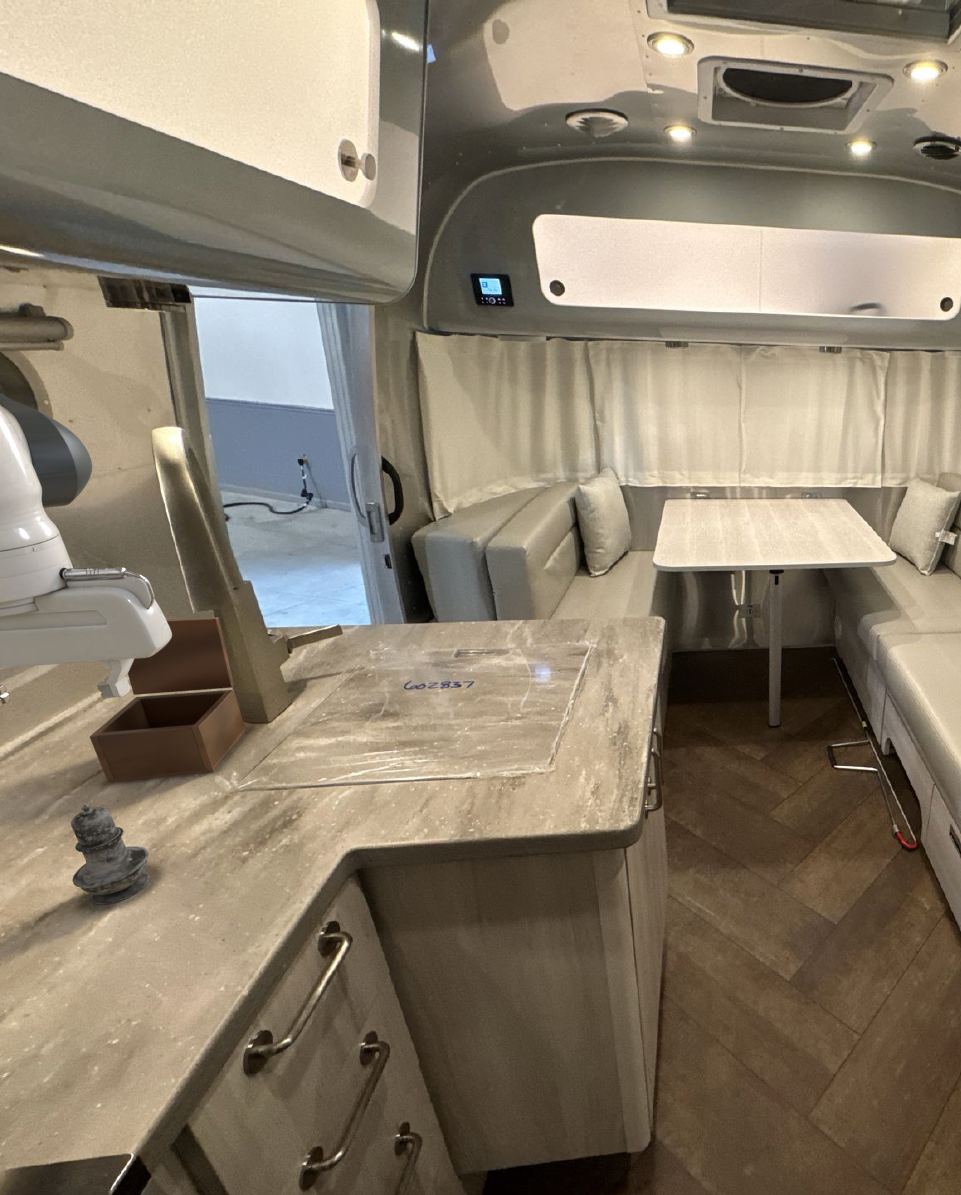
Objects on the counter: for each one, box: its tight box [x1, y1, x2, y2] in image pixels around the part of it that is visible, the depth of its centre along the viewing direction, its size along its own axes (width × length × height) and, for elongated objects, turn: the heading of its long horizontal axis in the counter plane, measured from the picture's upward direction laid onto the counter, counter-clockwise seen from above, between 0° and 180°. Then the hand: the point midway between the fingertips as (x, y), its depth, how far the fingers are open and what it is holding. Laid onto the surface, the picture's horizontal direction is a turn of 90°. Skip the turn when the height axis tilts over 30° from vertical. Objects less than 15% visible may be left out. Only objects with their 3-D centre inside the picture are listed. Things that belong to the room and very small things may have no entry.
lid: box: [127, 616, 235, 696], centre depth 94 cm, size 11×12×5 cm
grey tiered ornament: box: [70, 804, 151, 906], centre depth 69 cm, size 6×6×12 cm
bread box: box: [89, 689, 247, 784], centre depth 91 cm, size 10×12×8 cm
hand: (57, 700), depth 64 cm, fingers open, 8 cm apart
